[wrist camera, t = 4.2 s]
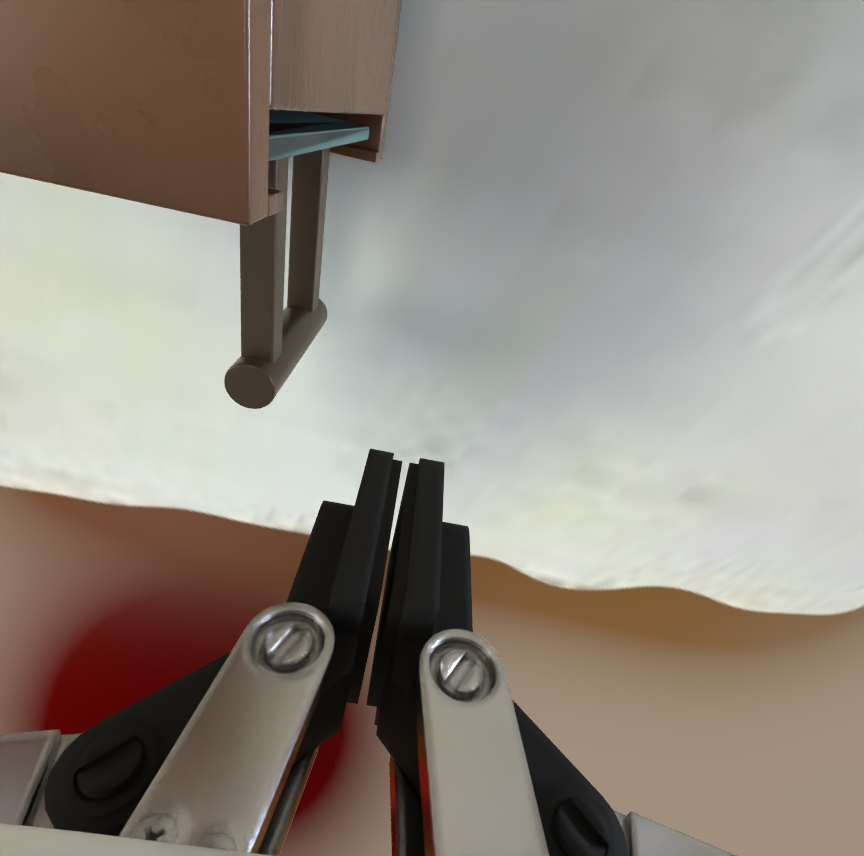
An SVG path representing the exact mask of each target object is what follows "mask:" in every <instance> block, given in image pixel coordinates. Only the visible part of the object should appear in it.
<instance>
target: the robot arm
mask: <svg viewBox="0 0 864 856" xmlns="http://www.w3.org/2000/svg"><path fill="white" fill-rule="evenodd" d="M393 456H394V453H390V452H385V451H380V450H374V449H370V451H369V454H368V458H367V462H366V466H365V469H364V473H363V477H362V480H361V484H360V488H359V492H358V495H357V499H356V503H355V506H351V505H346V504H340V503H335V502H329V501H323V503H322V505H321V507H320V510H319V513H318V516H317V518H316V521H315V524H314V527H313V529H312V532H311V535H310V538H309V541H308V544H307V546H306V549H305V552H304V555H303V557H302V560H301V563H300V566H299V569H298V572H297V574H296V577H295V580H294V583H293V586H292V589H291V591H290V594H289V597H288V600H287V602H286V603H280V604H278V605H275V606H272V607H269V608H267V609H265V610H264V611H263V612H261V613H259V614H258V615H257V616H255V617H254V619H253V620H252V621H251V622H250V623H249V625H248V626H247V627H246V629H245V630H244V632H243V634H242V635H241V637H240V639H239V640H238V642H237V643H236V645H235V647H234V649H233V650H232V651H231V652H229V653H227V654H225V655H224V656H222V657H220V658H218V659H216V660H215V661H212V662H211V663H209V664H207V665H205V666H203V667H201V668H199V669H198V670H196V671H194V672H192V673H190V674H188V675H186V676H184V677H183V678H181V679H179V680H177V681H175V682H173V683H172V684H170V685H168V686H166V687H164V688H162V689H160V690H158V691H157V692H155V693H153V694H151V695H149V696H147V697H146V698H144V699H142V700H140V701H138V702H136V703H134V704H132V705H130V706H129V707H127V708H125V709H123V710H121V711H119V712H117V713H116V714H114V715H112V716H110V717H108V718H106V719H104V720H103V721H101V722H99V723H97V724H95V725H94V726H92V727H91V728H90V729H88V730H87V731H85V732H84V733H81V734H72V735H61V733H60V730H47V731H36V732H26V733H15V734H5V735H0V856H279V855H280V852H281V849H282V847H283V844H284V841H285V838H286V836H287V833H288V830H289V828H290V825H291V822H292V819H293V816H294V814H295V811H296V808H297V806H298V803H299V800H300V798H301V795H302V792H303V789H304V787H305V784H306V781H307V779H308V776H309V773H310V770H311V767H312V765H313V762H314V760H315V757H316V754H317V750H318V746H319V745H321V744H322V743H323V742H325V741H326V740H327V739H329V738H330V737H331V736H333V735H334V734H335V733H337V732H338V731H339V730H340V729H341V727H342V721H343V716H344V711H345V706H346V702H350V703H356V704H357V703H358V699H359V695H360V690H361V686H362V681H363V676H364V672H365V667H366V662H367V658H368V653H369V648H370V644H371V639H372V634H373V630H374V625H375V621H376V616H377V611H378V606H379V600H380V595H381V590H382V584H383V577H384V571H385V565H386V559H387V553H388V547H389V540H390V534H391V528H392V522H393V516H394V509H395V503H396V497H397V491H398V485H399V479H400V472H401V466H402V461H398V460H393ZM443 489H444V462H438V461H433V460H428V459H422V458H420V461H419V464H414V463H410V464H409V468H408V473H407V477H406V482H405V487H404V491H403V496H402V500H401V505H400V510H399V514H398V519H397V524H396V528H395V533H394V537H393V542H392V547H391V552H390V557H389V564H388V569H387V576H386V583H385V589H384V595H383V601H382V608H381V615H380V621H379V628H378V633H377V640H376V647H375V653H374V659H373V666H372V672H371V678H370V685H369V691H368V698H367V705H369V706H376V707H377V710H376V717H375V725H378V726H377V736H378V737H379V739H380V740H381V742H382V743H383V744H384V746H385V747H386V749H387V750H388V752H389V753H390V761H389V772H390V773H389V774H390V806H391V808H390V809H391V845H392V856H736V855H734V854H732V853H729V852H727V851H725V850H722V849H720V848H717V847H715V846H713V845H710V844H708V843H705V842H703V841H700V840H698V839H696V838H694V837H691V836H689V835H686V834H684V833H682V832H679V831H677V830H674V829H672V828H670V827H667V826H665V825H663V824H660V823H658V822H655V821H653V820H651V819H648V818H646V817H643V816H641V815H639V814H636V813H634V812H630V813H629V814H628V815H627V816H626V815H623V814H621V813H618V812H616V811H614V810H612V808H611V807H610V806H609V804H608V803H607V802H606V800H605V799H604V798H603V796H602V795H601V794H600V793H599V792H598V791H597V790H596V789H595V788H594V787H593V786H592V785H591V784H590V782H589V781H588V780H587V779H586V778H585V777H584V776H583V775H582V774H581V773H580V772H579V771H578V770H577V769H576V768H575V766H573V764H572V763H571V762H570V761H569V760H568V759H567V758H566V757H565V756H564V755H563V753H561V752H560V750H559V749H558V748H557V747H556V746H555V745H554V744H553V743H552V742H551V741H550V740H549V738H548V737H546V735H545V734H544V733H543V732H542V731H541V730H540V729H539V728H538V727H537V726H536V725H535V723H534V722H533V721H532V720H531V719H530V718H529V717H528V716H527V715H526V714H525V713H524V712H523V711H522V709H520V707H519V706H518V705H517V704H516V703H515V702H514V701H513V700H512V697H511V693H510V689H509V685H508V681H507V676H506V672H505V668H504V666H503V663H502V660H501V658H500V656H499V654H498V653H497V652H496V650H495V649H494V648H493V647H492V645H491V644H489V643H488V642H487V641H486V640H485V639H484V638H482V637H481V636H479V635H477V634H475V633H473V629H472V599H471V569H470V536H469V528H468V526H463V525H457V524H452V523H446V522H442V517H443Z"/></svg>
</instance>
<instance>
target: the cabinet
mask: <svg viewBox="0 0 864 856" xmlns="http://www.w3.org/2000/svg"><path fill="white" fill-rule="evenodd" d="M401 2H402V0H0V172H2V173H6V174H11V175H16V176H20V177H25V178H29V179H34V180H39V181H43V182H48V183H52V184H57V185H62V186H66V187H71V188H76V189H80V190H85V191H89V192H94V193H99V194H103V195H108V196H112V197H117V198H122V199H126V200H131V201H136V202H140V203H145V204H149V205H154V206H159V207H163V208H168V209H172V210H177V211H182V212H186V213H191V214H196V215H200V216H205V217H209V218H214V219H219V220H223V221H228V222H232V223H237V224H242V225H246V226H248V225H251V224H253V223H255V222H257V221H259V220H261V219H263V218H265V217H269V216H271V215H273V214H275V213H277V212H279V211H281V210H282V202H283V193H282V191H280V190H275V189H271V188H268V158H269V110H281V111H303V112H309V113H313V114H317V115H322V116H326V117H330V118H335V119H339V120H343V121H348V122H352V123H356V124H361V125H365V126H369V128H370V129H369V138H368V140H363V141H359V142H354V143H350V144H345V145H341V146H336V147H331V148H330V152H331V153H335V154H340V155H344V156H348V157H353V158H357V159H362V160H366V161H370V162H378V161H379V160H380V159H381V158H382V153H383V145H384V137H385V129H386V121H387V113H388V105H389V97H390V89H391V81H392V74H393V66H394V58H395V50H396V42H397V34H398V26H399V18H400V10H401Z"/></svg>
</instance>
